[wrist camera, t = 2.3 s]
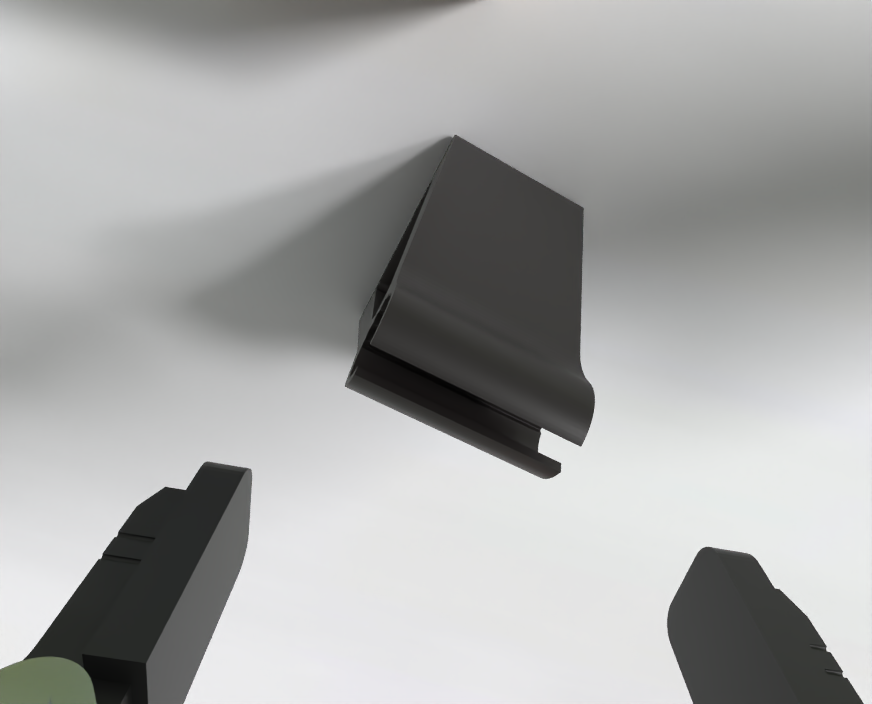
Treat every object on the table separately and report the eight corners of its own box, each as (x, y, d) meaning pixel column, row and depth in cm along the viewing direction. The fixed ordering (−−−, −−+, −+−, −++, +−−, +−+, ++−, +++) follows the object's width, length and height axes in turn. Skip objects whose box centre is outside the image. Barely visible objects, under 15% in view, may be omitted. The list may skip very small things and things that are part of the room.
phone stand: (455, 132, 23) (452, 189, 12) (582, 206, 24) (684, 320, 13) (359, 317, 26) (291, 487, 16) (473, 373, 27) (482, 570, 17)
